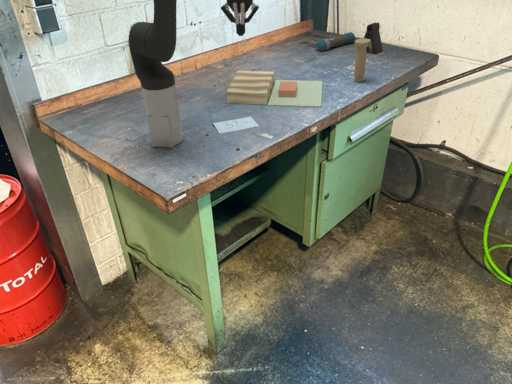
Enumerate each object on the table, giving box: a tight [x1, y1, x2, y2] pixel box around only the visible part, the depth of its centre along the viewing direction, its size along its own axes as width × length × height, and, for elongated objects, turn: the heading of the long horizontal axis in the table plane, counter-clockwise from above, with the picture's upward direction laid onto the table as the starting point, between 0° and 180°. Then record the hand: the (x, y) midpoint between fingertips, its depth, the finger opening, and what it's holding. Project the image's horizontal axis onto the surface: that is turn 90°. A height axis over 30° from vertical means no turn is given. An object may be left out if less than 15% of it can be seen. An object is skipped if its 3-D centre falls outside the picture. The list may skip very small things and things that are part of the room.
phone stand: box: [363, 21, 383, 55], centre depth 190 cm, size 9×6×12 cm, turn 47°
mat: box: [267, 79, 324, 108], centre depth 155 cm, size 24×18×1 cm
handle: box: [353, 37, 371, 83], centre depth 159 cm, size 5×6×15 cm
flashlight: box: [316, 31, 356, 52], centre depth 200 cm, size 5×22×5 cm, turn 128°
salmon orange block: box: [278, 81, 297, 97], centre depth 154 cm, size 9×6×2 cm, turn 172°
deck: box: [225, 70, 275, 105], centre depth 156 cm, size 22×14×4 cm, turn 171°
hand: (241, 35), depth 145 cm, fingers closed
